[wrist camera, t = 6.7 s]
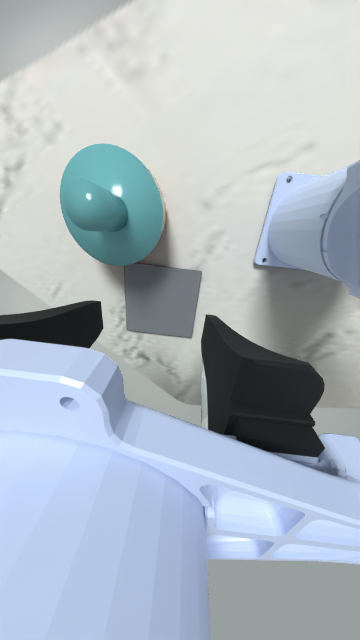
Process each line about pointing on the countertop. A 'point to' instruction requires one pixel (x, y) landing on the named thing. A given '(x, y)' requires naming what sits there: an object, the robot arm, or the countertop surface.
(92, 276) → the countertop surface
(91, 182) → the lid
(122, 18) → the countertop surface
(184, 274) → the mat
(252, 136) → the countertop surface
